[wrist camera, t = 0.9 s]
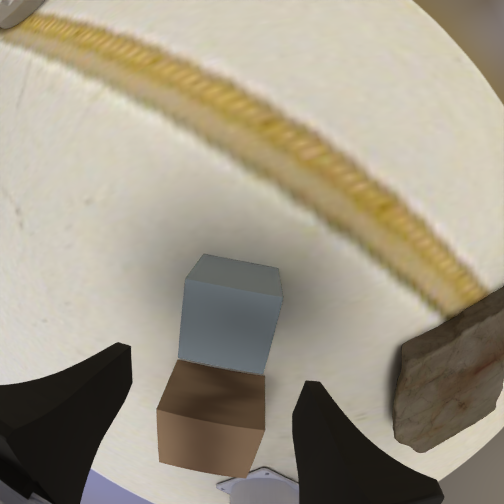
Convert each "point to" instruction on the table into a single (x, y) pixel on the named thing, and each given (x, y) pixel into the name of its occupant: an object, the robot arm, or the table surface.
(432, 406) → the flat brown rock
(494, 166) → the table surface
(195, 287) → the slate cube
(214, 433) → the wood grain block
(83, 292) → the table surface
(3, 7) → the flag stand
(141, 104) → the table surface
